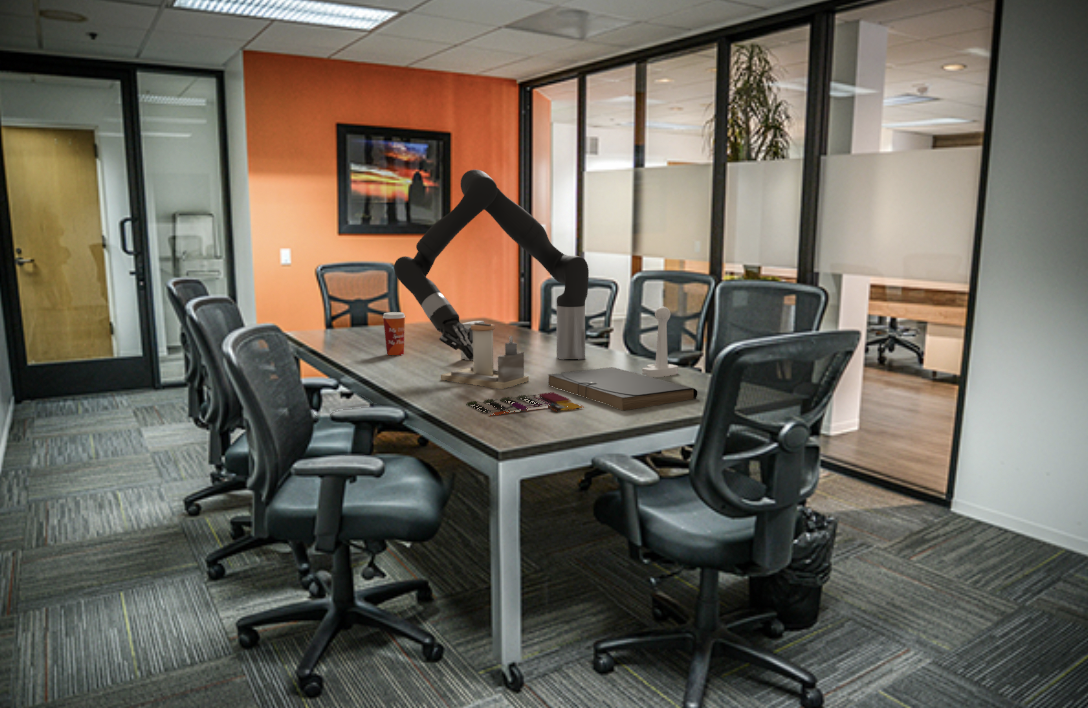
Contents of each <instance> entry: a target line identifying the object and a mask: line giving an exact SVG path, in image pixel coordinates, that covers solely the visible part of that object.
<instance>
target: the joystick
mask: <svg viewBox="0 0 1088 708" xmlns="http://www.w3.org/2000/svg"><path fill="white" fill-rule="evenodd" d="M654 316H655V319H656V320H657V325H658V326H657V337H656V338H657V341H656V353H655V364H651V363H650V364H647V365H646V367H642V368H641V375H645V376H648V377H652V378H653V377H654V378H664V376H665V377H671V376H675V375H678V374H679V372H678V371H679V366H678V365H676V364H672V363H671V364H670V363H669V362H668V331H667V330H668V329H667V327H668V326H667V324H668V321H669V319H670V318H671V311H670V309H669V308H668V307H667V306H660V307H657V308H656V310H655V311H654ZM668 363H669V364H668ZM670 375H671V376H670Z"/></svg>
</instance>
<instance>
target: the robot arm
mask: <svg viewBox="0 0 1088 708" xmlns="http://www.w3.org/2000/svg"><path fill="white" fill-rule="evenodd" d="M460 189H461V190H460V191H461V192H462V195H463V196H462V198H461V199H460V201H459V203H458V204H457V205H456V206H455V207H454V208H453V209H452V210H451V211H450V212H449V213H447V214H446V215H444V216H442V218H440V219H439V220H437V221H436V222H435V223H433V224H432V225H431V227H429V228H428V229H427V230H426V232H425V233H424V235H422V237H421V238H419V240H418V242H417V243H416V251H417V252H416V254H415V256H414V257H413V258H412V257H410V256H400V257H398V258H397V259H396V261H394V265H393V271H394V274H395V276H396V278H397V279H398V281H400V283H401V284H402V285H403V286H404V287H405V288H406V289H407V290H408V292H410V293H411V295H413V297H414V298H415V300H416V301H417V303H418V305H419V306H420V307H421V309H422V310H423V312H424V314H425V316H426V317H427V318H428V319H429V321H430V322H431V324H432V326H434V328H435V330H437V331H438V332H440V333H441V335H440V337H439V338H438V339H439V341H440V342H442V343H443V344H445V345H447V346H448V347H450V348H452V349H453V350H455V351H457V350H459V351H460V352H461V351H463V353H464V354H465V355H466V357H467V358H468V359H469V360H468V361H472V359H473V348H472V346H471V344H472V343H473V330H471V328H469V329H466V328H464V325H463V323H461V322H460V315H459V314H458V313H457V311H456V309H455V308H454V306H453V305H452V304H451V302H450V301H449V300H448V299H447V298H446V297H445V295H443V293H442V292H441V290H440V289H439V288H438V286H437V285H436V284H435V283H434V282H433V281H432V280H431V279H430V278H428V277H427V276H428V274H429V273H430V271H431V269H432V267H433V265H434V263H435V260H436V259H437V257H439V255H441V254H442V252H443V251H444V250H445V249H446V247H448V245H449V244H450V243H451V242H452V240H453V239H455V237H456V236H457V235H458V234H459V233H460V231H462V230H463V229H464V228H465V227H466V226H467V225H468V224H469V223H471V221H472V220H474V218H476V217H477V216H478V215H480V214H481V212H484V210H485V211H486V212H487V213H488V214H489V215H490V217H492V219H493V220H494V221H495V222H496V223H497V225H499V227H500V228H501V229H502V230H503V231H504V232H505V233H506V234H507V235H508V237H510V238H511V239H512V240H513V241H514V242H515V243H516V244H517V246H518V245H519V246H520V248H522V249H523V250H525V251H526V252H527V253H528V254H529V255H530V256H531V257H532V258H534V259H535V260H536V261H538V263H539V264H540V265H541V266H542V267H543V268H544V269H545V270H546V271H547V273H549V275H550V276H551V277H552V278H553V279H554V280H555V281H556V282H558V283H560V284H563V285H564V291H563V292H562V294H560V295H559V296H557V297H556V358H557V359H558V358H559V359H558V360H564V359H578V360H586V300H587V298H588V294H589V293H588V292H589V291H588V290H589V271H590V269H589V264H588V263H587V261H586V259H585V258H584V257H582V256H580V255H579V256H578V255H567V254H564V253H563V252H561V251H560V250H559V249H557V247H555V246H554V245H553V243H551V241H550V239H549V236H548V234H547V231H546V229H545V228H544V226H543V225H542V224H541V223H540V221H538V220H537V219H536V218H535V217H534V216H533V215H531V213H529V212H528V211H526V210H525V209H524V208H523V207H522V206H520V205H519V204H518V203H516V202H514V201H513V200H512V199H511V198H509V197H508V196H507V195H506V194H505V193H503V192H502V190H501V189H500V188H499V187H498V185H497V183H496V182H495V180H494V179H493V178H492V177H491V176H489V174H488V173H486V171H482V170H480V169H470V170H467V171H466V172H465V173H463V175H462V176H461V179H460Z"/></svg>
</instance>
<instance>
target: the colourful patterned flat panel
mask: <svg viewBox="0 0 1088 708" xmlns="http://www.w3.org/2000/svg"><path fill="white" fill-rule="evenodd" d="M525 397H526V398H525ZM531 397H532V398H531ZM533 397H534V398H533ZM539 397H540V398H541V397H542V398H543V399H544V400H543V399H542V398H541V399H540V398H539ZM517 398H519V399H520V398H522V400H524V399H528V400H530V401H529V403H530V402H531V401H534V402H535V403H536V402H537V403H536V404H534V402H533V403H532V402H531V404H534V405H530V404H528V405H527V404H526V405H524V404H522V403H519V402H518V401H516V400H514V399H517ZM536 399H538V400H536ZM505 400H506V401H507V403H508V401H511V402H510V404H511V403H512V402H515V403H513V404H512V406H511V405H509V406H504V405H502V404H500V403H499V402H497V401H500V402H502V403H503V401H505ZM528 400H526V401H528ZM539 400H541V401H543V402H545V403H544V404H545V405H548V404H549V405H550V406H549V405H548V409H547V410H550V411H552V412H555V413H558V411H560V412H561V411H566V412H569V411H570V410H571V411H572V410H574V409H576V408H582V407H583V405H581V406H579V405H578V403H574V402H572V399H570V398H568V397H566V396H564V395H561V394H559V393H557V392H554V391H552V392H544V393H543V392H542V393H539V394H531V395H530V394H527V395H526V394H521V395H520V394H519V395H517V396H516V397H513V396H503V397H501V398H500V399H498V398H495V399H493V398H490V399H489V398H486V399H484V400H483V401H479V400H474V401H472V400H470V401H468V402H466V403H465V405H466V406H467V405H468V406H467V407H470V405H474V404H475V406H473V408H472V406H471V407H470V408H472V409H474V407H475V409H474V410H476V409H477V408H479V407H482V408H479V409H480V410H482V411H481V412H483V411H485V410H486V411H485V412H486V413H485V414H487V413H488V411H490V412H491V411H492V413H491V414H493V413H494V414H495V415H496V416H502V415H501V414H503V413H504V412H505V413H507V414H505V413H504V415H508V413H509V412H510V410H511V409H514V408H515V409H521V411H526V412H528V411H527V409H528V408H529V407H531V406H532V407H535V405H538V407H539V406H540V405H543V402H541V401H539ZM545 400H547V401H548V402H549V403H548V402H547V401H545ZM506 401H505V402H504V403H506ZM538 401H539V402H538ZM540 402H541V403H540ZM480 403H481V405H480ZM482 403H483V404H485V405H487V404H486V403H490V405H492V406H493V407H492V408H493V409H489V408H486V407H485V406H484V405H483V406H482ZM507 403H506V404H507ZM538 403H539V404H538ZM478 405H479V406H478ZM501 405H502V407H501ZM476 406H478V407H476ZM494 406H495V407H494ZM567 406H568V407H567ZM527 407H528V408H527ZM485 408H486V409H485ZM496 408H497V409H496ZM501 408H502V409H501ZM526 408H527V409H526ZM479 409H478V410H479ZM487 409H488V410H487ZM505 409H510V410H508V411H509V412H506V411H503V410H505ZM568 409H569V411H568ZM499 410H500V411H499ZM514 412H515V411H514ZM488 414H489V413H488ZM491 414H490V416H489V417H494V416H493V415H494V414H493V415H492V416H491ZM499 414H500V415H499Z"/></svg>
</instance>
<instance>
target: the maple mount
mask: <svg viewBox="0 0 1088 708" xmlns="http://www.w3.org/2000/svg"><path fill="white" fill-rule="evenodd" d="M524 353H525V352H523V351H517V355H505V354H503V355H498V356H497V369H496V368H493V374H494V375H492V376H486V375H479V374H474V371H473V366H470V368H469V367H467V368H462V369H459V370H453V371H450V372H447V373H446V372H445V373H442V374H440V381H445V380H447V381H446V382H451V381H453V382H452V383H458V382H459V384H464V383H467V384H466V385H470V384H473V385H472V386H477V385H480V386H479V387H483V386H485V387H484V388H490V387H491V388H492V389H496V388H499V389H498V390H505V389H508V388H507V387H509V388H511V387H510V386H512V387H515V386H514V385H516V386H518V385H517V384H519V385H521V384H520V383H522V384H525V383H524V382H526V383H528V382H527V381H529V380H530V379H529V376H528V375H525V354H524ZM529 382H530V381H529ZM504 388H505V389H504Z"/></svg>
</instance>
